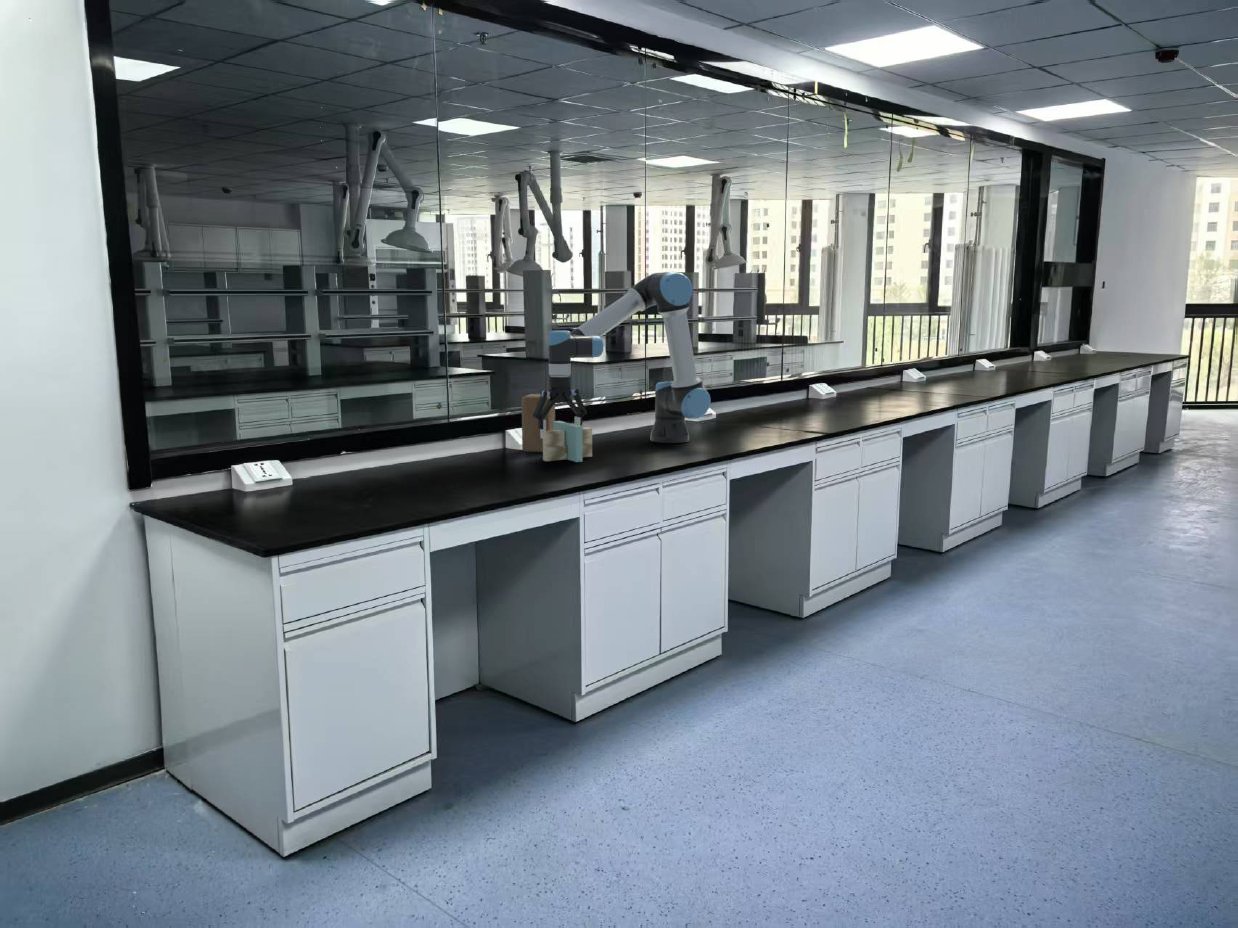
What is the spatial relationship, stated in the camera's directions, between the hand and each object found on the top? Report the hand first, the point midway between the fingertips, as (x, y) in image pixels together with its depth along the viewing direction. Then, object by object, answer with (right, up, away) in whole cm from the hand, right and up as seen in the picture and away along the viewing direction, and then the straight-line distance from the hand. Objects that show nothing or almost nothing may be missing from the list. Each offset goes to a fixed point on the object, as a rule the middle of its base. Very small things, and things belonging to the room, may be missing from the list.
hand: (560, 437), depth 309 cm
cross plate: (+3, -7, -3) cm, 9 cm away
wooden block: (-9, -5, +13) cm, 16 cm away
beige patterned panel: (+3, -7, -3) cm, 9 cm away
